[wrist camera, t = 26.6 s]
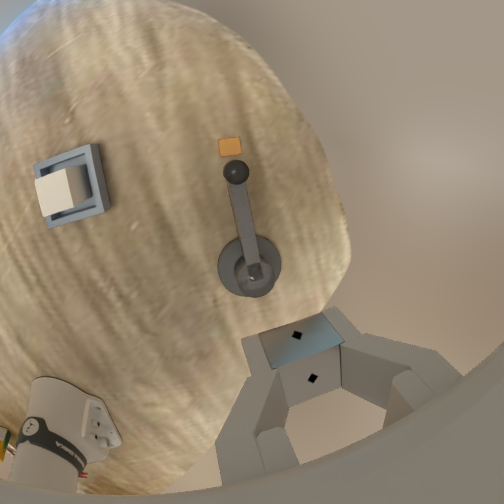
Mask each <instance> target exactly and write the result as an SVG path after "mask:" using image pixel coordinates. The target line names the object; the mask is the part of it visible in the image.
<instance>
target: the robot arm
mask: <svg viewBox="0 0 504 504" xmlns="http://www.w3.org/2000/svg"><path fill="white" fill-rule="evenodd" d="M241 343H242V346H243V349H244V352H245V356H246V359H247V362H248V365H249V369H250V372H251V375H252V376H251V377H248V378H247V379H246V381H245V383H244V385H243V387H242V389H241V391H240V393H239V396H238V398H237V400H236V402H235V404H234V406H233V408H232V410H231V412H230V414H229V416H228V418H227V420H226V422H225V424H224V426H223V428H222V430H221V432H220V434H219V435H218V437H217V439H216V441H215V446H216V452H217V458H218V464H219V469H220V475H221V480H222V485H223V486H219V487H213V488H207V489H201V490H194V491H186V492H178V493H169V494H168V493H167V494H153V495H94V494H81V493H76V490H77V481H78V477H81V478H87V477H85V476H82V475H87V474H88V473H83V472H82V471H83V470H84V468H85V466H86V464H91V463H96V462H100V461H103V460H105V459H106V458H107V457H108V455H109V451H110V449H111V448H115V447H118V446H120V445H121V444H122V439H121V437H120V435H119V433H118V431H117V429H116V427H115V425H114V423H113V421H112V419H111V417H110V415H109V413H108V410H107V408H106V406H105V404H104V402H103V401H102V400H101V399H99V398H97V397H94V396H91V395H88V394H86V393H84V392H82V391H81V390H79V389H78V388H76V387H74V386H72V385H71V384H69V383H66V382H64V381H61V380H59V379H55V378H50V377H41V378H37V379H35V380H34V381H33V382H32V383H31V388H30V397H29V401H28V408H27V412H26V417H25V422H24V423H23V425H22V427H21V429H20V432H19V435H18V437H17V442H16V447H17V450H16V453H15V457H14V460H13V464H12V467H11V471H10V475H9V478H8V480H4V479H0V504H504V342H503V343H502V344H501V345H499V346H498V347H497V348H496V349H495V350H494V351H493V352H492V353H491V354H490V355H489V356H487V357H486V358H485V359H484V360H483V361H482V362H481V363H479V364H478V365H477V366H476V367H475V368H473V369H472V370H471V371H470V372H468V373H467V374H466V375H465V376H462V375H461V374H460V373H459V372H458V371H457V370H456V369H455V368H454V367H453V366H452V365H451V364H450V363H449V362H448V361H447V360H446V359H445V358H444V357H443V356H441V355H440V354H439V353H438V352H437V351H436V350H431V349H427V348H423V347H418V346H415V345H411V344H406V343H402V342H399V341H394V340H390V339H386V338H383V337H379V336H375V335H372V334H368V333H365V334H363V335H362V334H361V333H360V332H359V331H358V330H357V329H356V328H355V327H354V325H353V324H352V323H351V322H350V321H349V320H348V319H347V318H346V317H345V316H344V314H343V313H342V312H341V311H340V310H339V309H338V308H337V307H335V306H334V307H332V308H329V309H326V310H324V311H321V312H320V313H317V314H315V315H312V316H309V317H307V318H304V319H301V320H299V321H296V322H293V323H290V324H287V325H284V326H280V327H277V328H274V329H271V330H268V331H264V332H261V333H258V335H257V334H255V335H252V336H248V337H245V338H242V339H241ZM340 387H342V388H343V389H345V390H347V391H349V392H351V393H353V394H355V395H357V396H359V397H361V398H363V399H365V400H367V401H369V402H371V403H373V404H375V405H377V406H379V407H382V408H384V409H386V410H387V412H386V416H385V420H384V425H383V428H382V429H381V430H380V431H378V432H376V433H374V434H372V435H370V436H368V437H366V438H364V439H362V440H360V441H358V442H355V443H353V444H351V445H349V446H347V447H344V448H342V449H340V450H337V451H335V452H333V453H330V454H328V455H325V456H323V457H320V458H318V459H315V460H313V461H310V462H307V463H304V464H301V465H300V464H299V462H298V459H297V457H296V454H295V452H294V450H293V447H292V445H291V442H290V440H289V438H288V435H287V433H286V430H285V429H284V427H285V423H286V419H287V415H288V411H289V407H292V406H294V405H297V404H299V403H302V402H305V401H307V400H309V399H312V398H314V397H317V396H320V395H322V394H325V393H327V392H330V391H333V390H335V389H338V388H340Z"/></svg>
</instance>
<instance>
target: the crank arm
mask: <svg viewBox="0 0 504 504" xmlns="http://www.w3.org/2000/svg"><path fill="white" fill-rule="evenodd" d="M223 175H224V177H225V179H226V182H227V187H228V192H229V196H230V201H231V206H232V210H233V215H234V220H235V224H236V229H237V234H238V238H239V243H240V248H241V252H242V256H241V257H240V258H239V259H238V260H237V261H236V263H235V265H234V276H235V278H236V281H237V284H238V286H239V289H240V290H241V292H242V293H243V294H244V295H246V296H248V297H253V298H256V297H261V296H264V295H266V294H267V293H268V292H270V291H271V289H272V288H273V286H274V284H275V279H276V277H275V273H274V271H273V269H272V268H271V266H270V265H269V263H268V262H267V260H266V259H265V258H264V257H263V256H262V255H260V254H259V251H258V246H257V241H256V236H255V231H254V225H253V220H252V215H251V210H250V205H249V200H248V195H247V190H246V184H245V181H246V180H247V179H248V177H249V168H248V166H247V165H246V164H245V163H244V162H243V161H240V160H231V161H229V162H227V163H226V165H225V166H224V167H223Z"/></svg>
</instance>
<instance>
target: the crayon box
mask: <svg viewBox="0 0 504 504" xmlns="http://www.w3.org/2000/svg"><path fill="white" fill-rule="evenodd" d="M10 436H11V434H10V432H9V431H8V429H6V428H3V427H1V426H0V461H2V462H3V459H4V456H5V452H6V449H7V446H8V442H9V439H10Z"/></svg>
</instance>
